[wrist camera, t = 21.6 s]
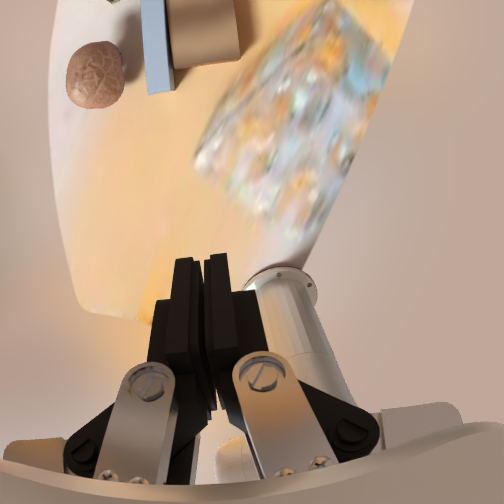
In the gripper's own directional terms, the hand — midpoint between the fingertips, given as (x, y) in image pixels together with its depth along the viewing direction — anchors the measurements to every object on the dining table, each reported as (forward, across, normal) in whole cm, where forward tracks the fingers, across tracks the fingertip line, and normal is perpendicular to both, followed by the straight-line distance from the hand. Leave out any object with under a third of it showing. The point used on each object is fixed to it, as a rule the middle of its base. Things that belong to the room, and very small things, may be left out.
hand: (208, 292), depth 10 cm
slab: (+29, 0, -15) cm, 33 cm away
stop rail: (+29, +5, -13) cm, 32 cm away
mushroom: (+29, +11, -10) cm, 33 cm away
